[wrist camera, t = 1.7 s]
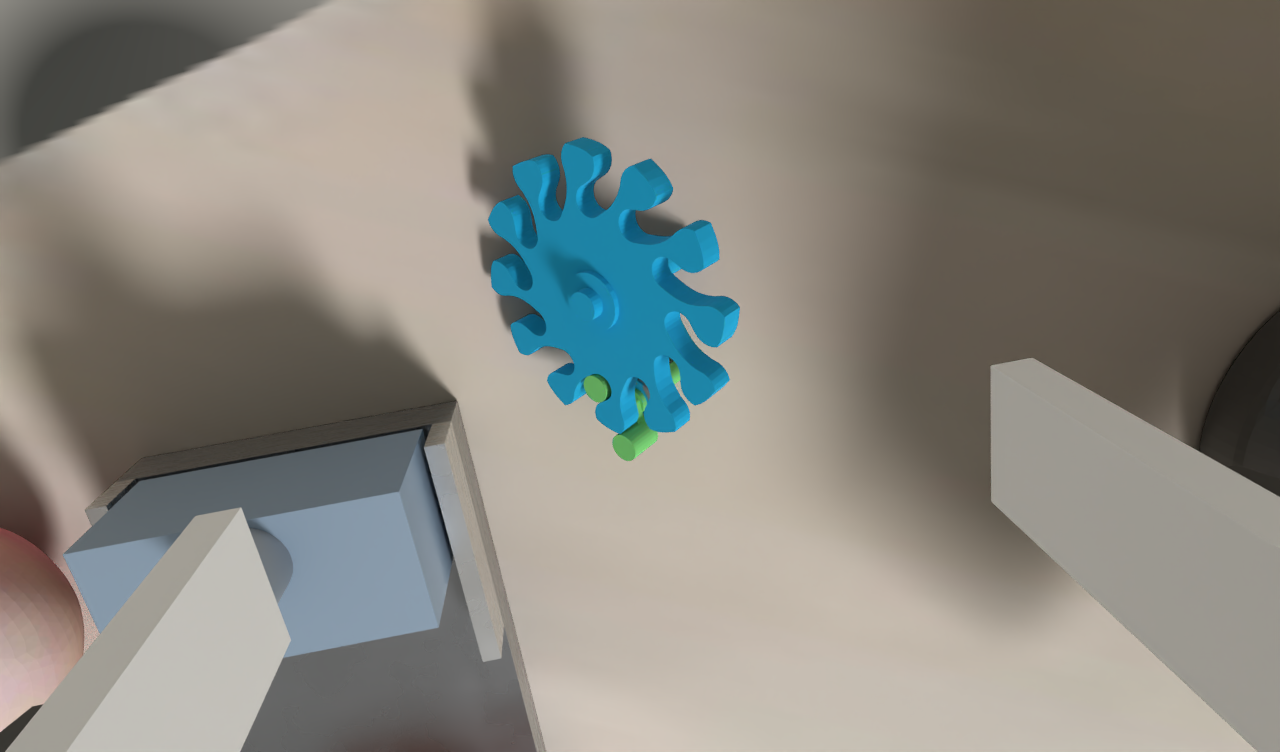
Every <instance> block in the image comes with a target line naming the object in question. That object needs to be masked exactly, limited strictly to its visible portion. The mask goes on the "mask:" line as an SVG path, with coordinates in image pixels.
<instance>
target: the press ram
mask: <svg viewBox="0 0 1280 752" xmlns="http://www.w3.org/2000/svg"><path fill="white" fill-rule="evenodd" d="M425 443H426V440H425V436H424V433H423V429H420V430H415V431H409V432H404V433H398V434H393V435H387V436H382V437H377V438H371V439H366V440H360V441H355V442H349V443H344V444H338V445H333V446H328V447H322V448H317V449H311V450H306V451H300V452H295V453H290V454H284V455H279V456H273V457H268V458H262V459H257V460H251V461H246V462H241V463H235V464H230V465H224V466H219V467H213V468H208V469H203V470H197V471H192V472H186V473H181V474H175V475H170V476H164V477H159V478H154V479H148V480H143V481H139V482H138V483H137V484H136V485H135V486H134V487H133V488H132V489H131V490H130V491H129V492H128V493H126V494H125V495H124V496H123V497H122V498H121V499H120V500H119V501H118V502H117V503H116V504H115V505H114V506H113V507H112V508H111V509H110V510H109V511H108V512H107V513H106V514H105V515H104V516H102V517H101V518H100V519H99V520H98V521H97V522H96V523H95V524H94V525H93V526H92V527H91V528H90V529H89V530H88V531H87V532H86V533H85V534H84V535H83V536H82V537H81V538H80V539H78V540H77V541H76V542H75V543H74V544H73V545H72V546H71V547H70V548H69V549H68V550H67V551H66V552H65V553H64V554H63V556H64V558H65V560H66V562H67V565H68V567H69V569H70V571H71V573H72V575H73V577H74V580H75V582H76V584H77V586H78V588H79V590H80V592H81V595H82V597H83V599H84V601H85V603H86V605H87V607H88V609H89V612H90V614H91V616H92V618H93V620H94V622H95V624H96V627H97V629H98V631H99V633H101V632H102V631H103V630H104V629H105V627H106V626H107V625H108V624H109V622H110V621H111V620H112V619H113V617H114V616H115V615H116V614H117V612H118V611H119V610H120V609H121V607H122V606H123V605H124V604H125V602H126V601H127V600H128V599H129V598H130V596H131V595H132V594H133V593H134V591H135V590H136V589H137V588H138V586H139V585H140V584H141V583H142V581H143V580H144V579H145V578H146V576H147V575H148V574H149V573H150V572H151V570H152V569H153V568H154V567H155V565H156V564H157V563H158V562H159V560H160V559H161V558H162V557H163V555H164V554H165V553H166V552H167V550H168V549H169V548H170V547H171V545H172V544H173V543H174V542H175V541H176V539H177V538H178V537H179V536H180V534H181V533H182V532H183V531H184V529H185V528H186V527H187V526H188V524H189V523H190V522H191V521H192V519H193V518H194V517H195V516H198V515H203V514H208V513H214V512H219V511H224V510H229V509H235V508H240V507H241V508H242V511H243V513H244V516H245V519H246V521H247V524H248V527H249V529H250V532H251V535H252V537H253V540H254V543H255V545H256V548H257V551H258V553H259V556H260V559H261V561H262V564H263V567H264V569H265V572H266V575H267V577H268V580H269V583H270V585H271V588H272V591H273V593H274V596H275V599H276V601H277V604H278V607H279V609H280V612H281V615H282V617H283V620H284V623H285V625H286V628H287V631H288V633H289V636H290V639H291V641H290V643H289V646H288V648H287V650H286V652H285V654H284V657H283V658H285V657H290V656H295V655H300V654H306V653H311V652H316V651H321V650H326V649H331V648H336V647H341V646H347V645H352V644H357V643H362V642H367V641H372V640H377V639H382V638H388V637H393V636H398V635H403V634H408V633H413V632H418V631H424V630H429V629H434V628H439V624H440V619H441V614H442V609H443V605H444V600H445V595H446V590H447V585H448V580H449V576H450V571H451V566H452V561H453V556H454V555H453V551H452V548H451V544H450V541H449V537H448V533H447V530H446V526H445V522H444V519H443V515H442V511H441V508H440V504H439V500H438V497H437V493H436V489H435V486H434V482H433V479H432V475H431V471H430V468H429V464H428V460H427V457H426V453H425V449H424V446H425Z"/></svg>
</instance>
